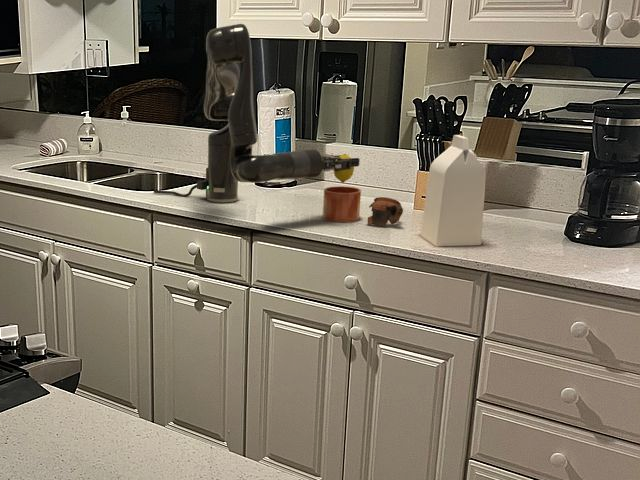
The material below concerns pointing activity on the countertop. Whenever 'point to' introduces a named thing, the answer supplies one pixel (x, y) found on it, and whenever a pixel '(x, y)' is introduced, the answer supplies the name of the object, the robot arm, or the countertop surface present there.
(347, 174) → the lemon
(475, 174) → the milk
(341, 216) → the crock
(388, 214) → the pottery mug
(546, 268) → the countertop surface
